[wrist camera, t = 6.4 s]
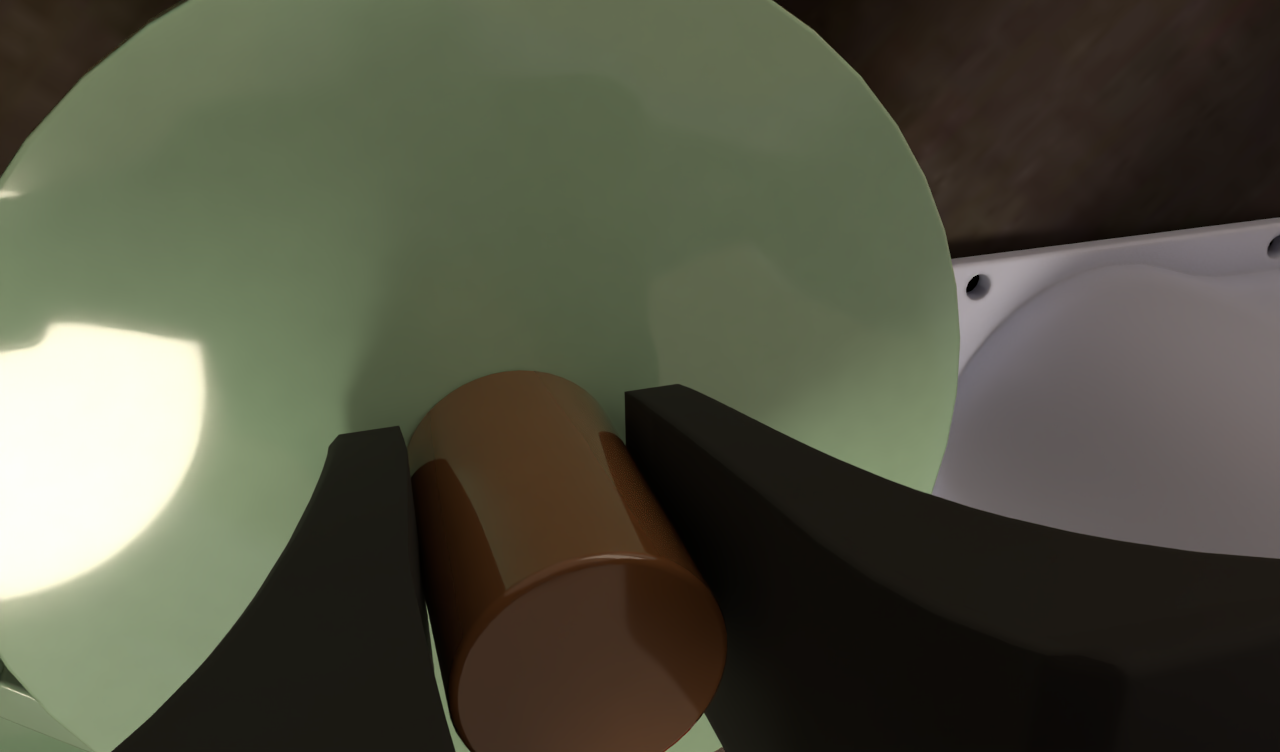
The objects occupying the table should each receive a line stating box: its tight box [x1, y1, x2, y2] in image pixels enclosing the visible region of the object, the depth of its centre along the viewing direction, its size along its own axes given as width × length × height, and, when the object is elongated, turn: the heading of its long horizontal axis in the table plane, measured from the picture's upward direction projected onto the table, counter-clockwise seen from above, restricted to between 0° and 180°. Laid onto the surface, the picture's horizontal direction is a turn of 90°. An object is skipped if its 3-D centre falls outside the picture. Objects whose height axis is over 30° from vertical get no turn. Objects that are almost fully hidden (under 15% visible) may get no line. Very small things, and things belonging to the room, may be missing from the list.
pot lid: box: [0, 0, 960, 752], centre depth 11 cm, size 11×11×5 cm
